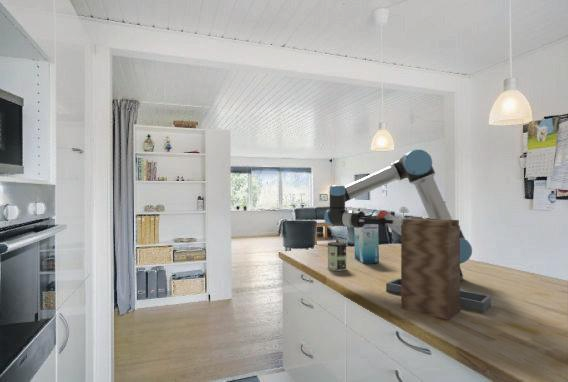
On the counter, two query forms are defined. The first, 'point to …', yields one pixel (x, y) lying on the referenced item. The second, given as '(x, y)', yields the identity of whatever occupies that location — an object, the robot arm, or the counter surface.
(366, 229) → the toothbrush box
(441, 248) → the post
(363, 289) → the counter surface
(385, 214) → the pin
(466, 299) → the tray
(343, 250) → the coffee can
